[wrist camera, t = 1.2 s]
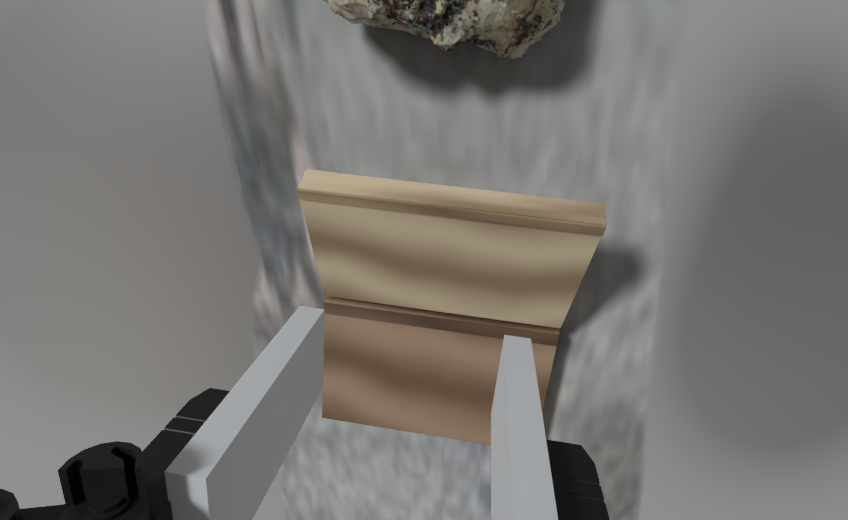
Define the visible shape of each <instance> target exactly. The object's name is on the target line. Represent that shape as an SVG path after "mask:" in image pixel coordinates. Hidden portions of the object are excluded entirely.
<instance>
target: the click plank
mask: <svg viewBox="0 0 848 520" xmlns="http://www.w3.org/2000/svg"><path fill="white" fill-rule="evenodd" d="M297 192H298V196H299V199H300V200H301V204H302V208H303V212H304V216H305V220H306V224H307V228H308V232H309V236H310V240H311V244H312V248H313V252H314V256H315V260H316V264H317V268H318V272H319V276H320V280H321V284H322V288H323V292H324V296H329V297H337V298H344V299H351V300H358V301H365V302H373V303H380V304H387V305H394V306H402V307H409V308H416V309H423V310H430V311H438V312H445V313H452V314H459V315H467V316H474V317H481V318H488V319H495V320H503V321H510V322H517V323H524V324H532V325H539V326H546V327H553V328H560V329H561V326H562V324H563V322H564V320H565V317H566V315H567V313H568V311H569V308H570V306H571V304H572V302H573V299H574V297H575V295H576V293H577V290H578V288H579V286H580V284H581V281H582V279H583V277H584V275H585V272H586V270H587V268H588V266H589V263H590V261H591V259H592V256H593V254H594V252H595V250H596V247H597V245H598V243H599V241H600V238H601V236H603V233H604V231H605V229H606V215H605V206H604V204H600V203H592V202H583V201H575V200H566V199H557V198H549V197H540V196H532V195H523V194H514V193H506V192H497V191H489V190H480V189H472V188H463V187H454V186H446V185H437V184H429V183H420V182H411V181H403V180H394V179H386V178H377V177H369V176H360V175H351V174H343V173H334V172H326V171H317V170H308V169H306V170H305V173H304V175H303V177H302V179H301V181H300V183H299V186H298V190H297Z"/></svg>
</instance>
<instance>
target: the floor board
mask: <svg viewBox="0 0 848 520" xmlns="http://www.w3.org/2000/svg"><path fill="white" fill-rule="evenodd" d="M324 309H325V310H324V367H323V408H322V418H328V419H334V420H340V421H347V422H353V423H359V424H365V425H372V426H378V427H384V428H390V429H397V430H403V431H409V432H415V433H422V434H428V435H434V436H440V437H447V438H453V439H459V440H465V441H472V442H478V443H484V444H490V445H491V410H492V404H493V398H494V393H495V387H496V381H497V375H498V369H499V363H500V357H501V351H502V346H503V340H504V335H509V336H516V337H524V338H531V342H532V349H533V356H534V362H535V369H536V376H537V382H538V389H539V395H540V402H541V409H542V412H543V407H544V403H545V398H546V393H547V389H548V384H549V379H550V375H551V370H552V366H553V361H554V356H555V352H556V347H557V344H558V340H559V333H560V332H559V328H553V327H546V326H539V325H532V324H524V323H517V322H510V321H503V320H495V319H488V318H481V317H474V316H467V315H459V314H452V313H445V312H438V311H430V310H423V309H416V308H409V307H402V306H394V305H387V304H380V303H373V302H365V301H358V300H351V299H344V298H337V297H329V296H327V297H326V298H325V300H324Z"/></svg>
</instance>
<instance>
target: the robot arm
mask: <svg viewBox="0 0 848 520" xmlns="http://www.w3.org/2000/svg"><path fill="white" fill-rule="evenodd" d="M324 310H325V309H318V308H311V307H303V306H299V308H298V309H297V310H296V311H295V312H294V314H293V315H292V316H291V317H290V319H289V320H288V321H287V322H286V323H285V325H284V326H283V327H282V328H281V330H280V331H279V332H278V333H277V334H276V336H275V337H274V338H273V339H272V341H271V342H270V343H269V344H268V345H267V347H266V348H265V349H264V350H263V352H262V353H261V354H260V355H259V357H258V358H257V359H256V360H255V361H254V363H253V364H252V365H251V366H250V368H249V369H248V370H247V371H246V372H245V374H244V375H243V376H242V377H241V379H240V380H239V381H238V382H237V384H236V385H235V386H234V387H233V388H232V390H231V391H225V390H219V389H213V388H209V389H208V390H206V391H204V392H203V393H201V394H199V395H197V396H196V397H194V398H192V399H190V401H188V403H187V404H186V405H185V406H184V407H183V408H182V409H181V410H180V411H179V412H178V414H177V415H176V418H173V419H172V420H171V421H170V422H169V423H168V425H166V427H165V429H164V431H163V430H162V431H161V432H160V433H159V434H158V435H157V437H156V438H155V439H154V440H153V441H152V442H151V443H150V444H149V445H148V446H147V447H146V449H144V451H143V452H142V451H141V449H140V448H139V447H137V446H135V445H133V444H132V443H126V442H110V443H104V444H99V445H96V446H94V447H91V448H88V449H85V450H83V451H81V452H80V453H78V454H77V455H75V456H73V457H72V458H70V459H69V460H68V461H67V462H66V463H65V464H64V465H63V466H62V467H61V468H60V469H59V470H58V473H59V477H60V481H61V486H62V490H63V494H64V498H65V502H66V504H64V505H57V506H46V507H37V508H27V509H19V505H18V502H17V500H16V498H15V496H14V494H13V493H11V492H8V491H6V490H3V489H0V520H252V519H253V517H254V515H255V513H256V511H257V509H258V507H259V506H260V504H261V502H262V500H263V498H264V496H265V494H266V493H267V491H268V489H269V487H270V485H271V483H272V481H273V479H274V478H275V475H276V474H277V472H278V470H279V468H280V466H281V464H282V463H283V461H284V459H285V457H286V455H287V453H288V451H289V449H290V448H291V446H292V444H293V442H294V440H295V438H296V436H297V434H298V433H299V431H300V429H301V427H302V425H303V423H304V421H305V419H306V418H307V416H308V414H309V412H310V410H311V408H312V406H313V404H314V403H315V401H316V399H317V397H318V395H319V393H320V391H321V389H322V388H323V367H324ZM599 483H600V482H599V478H598V475H597V471H596V467H595V463H594V462H593V461H592V459H591V458H590V457H589V455H588V454H587V453H586V451H585V450H584V449H583V447H582V446H581V445H577V444H570V443H564V442H558V441H551V440H546V435H545V429H544V422H543V415H542V409H541V402H540V395H539V389H538V382H537V376H536V369H535V362H534V356H533V349H532V342H531V338H524V337H516V336H509V335H504V340H503V346H502V351H501V357H500V363H499V369H498V375H497V381H496V387H495V393H494V398H493V404H492V410H491V520H609V516H608V512H607V509H606V505H605V503H604V497H603V493H602V490H601V486H599Z"/></svg>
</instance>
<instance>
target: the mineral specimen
mask: <svg viewBox="0 0 848 520" xmlns="http://www.w3.org/2000/svg"><path fill="white" fill-rule="evenodd" d="M324 1H325V2H327V3H328V4H329V6H330V8H331V10H332V11H333V12H334V13H335V14H336V13H337V14H338V15H340V16H342V17H343V18H345V19H346V20H348V21H349V22H351V23H355V24H357V23H365V25H367V26H368V25H369V26H372V27H380V28H386V29H393V30H403V31H405V32H406V33H408V34H411V35H417V36H420V37H421V38H423V39H424V40H432V41H433V42H434V45H437V46H439V47H440V48H441V49H442V50H443V51H444V52H449V51H451V50H453V49H454V48H455V47H456V46H457V45H458V44H459V41H465V42H468V41H470V40H472V39H475V41H474V42H475V43H476V45H477V47H480V48H482V49H484V50H489V51H493V52H494V53H496V54H497V55H498V56H500V57H501V58H504V57H508V56H509V57H510V58H511V59H514V58H517V57H523V56H524V54H525V52H526V50H527V48H528V46H530V45H531V44H533V43H535V42H537V41H539V40H541V39H542V37H543V35H544V34H545V33H546V32H548V31H549V30H550V29H552V28H553V27H554V26H555V25H556V24H558V23H559V22H560V20H561V15H562V10H563V7H564V4H565V0H324Z"/></svg>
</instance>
